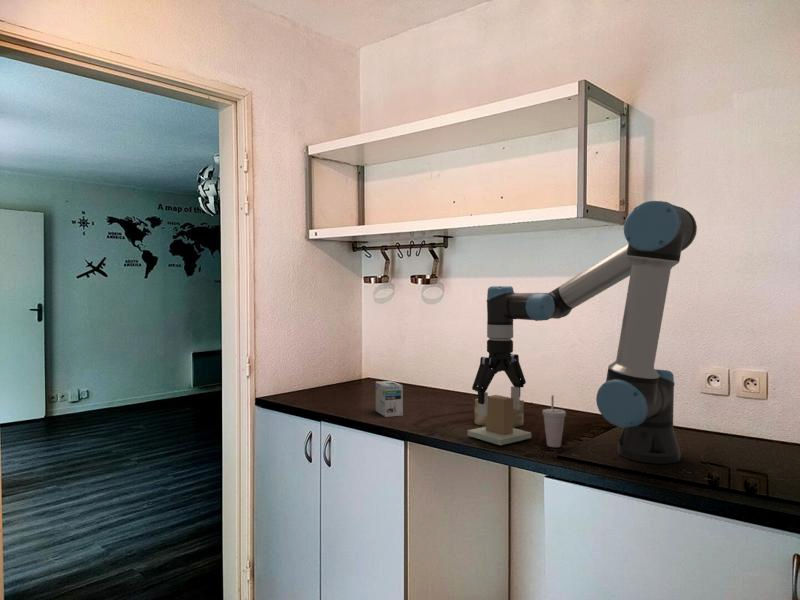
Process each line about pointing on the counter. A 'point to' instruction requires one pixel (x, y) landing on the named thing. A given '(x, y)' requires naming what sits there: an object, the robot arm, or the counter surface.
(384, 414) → the light bulb box
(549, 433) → the smoothie
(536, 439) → the counter surface
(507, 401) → the lid
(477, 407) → the box
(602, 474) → the counter surface
